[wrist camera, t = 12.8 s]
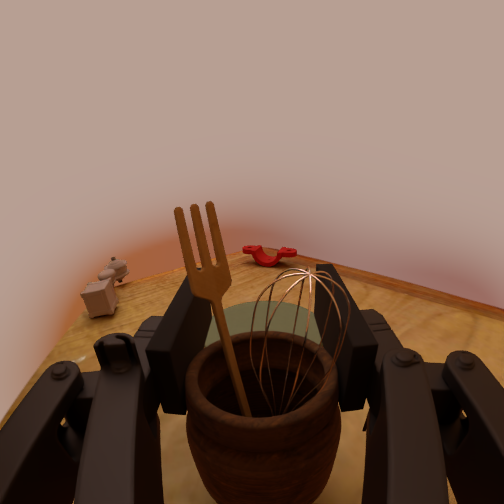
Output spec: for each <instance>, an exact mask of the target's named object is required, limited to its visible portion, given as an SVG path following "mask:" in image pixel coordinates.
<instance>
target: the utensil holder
mask: <svg viewBox="0 0 504 504" xmlns="http://www.w3.org/2000/svg"><path fill="white" fill-rule="evenodd" d="M205 206H206V212H207V217H208V221H209V227H210V232H211V236H212V241H213V246H214V251H215V255H216V260H217V263H216V266H213V265H212V261H211V257H210V253H209V249H208V245H207V241H206V236H205V232H204V228H203V224H202V219H201V215H200V211H199V207H198V205H197V204H192V205H191V207H190V211H191V216H192V221H193V226H194V231H195V236H196V241H197V246H198V250H199V255H200V260H201V264H202V268H201V270H200V271H199V270H197V268H196V264H195V260H194V256H193V252H192V247H191V243H190V239H189V235H188V231H187V226H186V222H185V218H184V213H183V209H182V208H181V207H176V208H175V210H174V215H175V220H176V225H177V230H178V235H179V239H180V244H181V249H182V253H183V258H184V262H185V267H186V271H187V276H188V280H189V284H190V288H191V292H192V294H193V295H194V296H196V297H199V298H203V299H206V300H208V301H209V302H210V303H211V306H212V310H213V314H214V318H215V322H216V325H217V329H218V333H219V337H220V340H218V341H216V342H214V343H212V344H210V345H208V346H207V347H205V348H204V349H203V350H201V351H200V352H199V353H198V354H197V355H196V356H195V357H194V358H193V360H192V361H191V363H190V364H189V366H188V368H187V371H186V375H185V403H186V408H187V411H188V413H187V419H186V432H187V438H188V443H189V446H190V450H191V453H192V456H193V459H194V462H195V464H196V467H197V469H198V472H199V474H200V477H201V479H202V481H203V483H204V485H205V487H206V489H207V491H208V492H209V494H210V495H211V496H212V498H213V499H214V500H215V501H216V502H217V503H218V504H312V503H313V502H314V501H315V500H316V499H317V498H318V496H319V495H320V494H321V492H322V491H323V489H324V488H325V486H326V484H327V482H328V479H329V477H330V474H331V471H332V468H333V464H334V461H335V457H336V453H337V449H338V445H339V440H340V433H341V415H340V409H339V406H338V401H339V393H340V390H339V377H338V370H337V367H336V364H335V362H336V360H337V358H338V356H339V354H340V351H341V348H342V345H343V342H344V339H345V335H346V331H347V327H348V324H349V318H350V304H349V300H348V297H347V295H346V293H345V292H344V290H343V289H342V288H341V286H340V285H338V284H337V283H336V282H335V281H333V280H332V278H331V276H330V275H329V274H328V273H327V272H324V271H316V272H313V273H311V270H310V267H307V268H306V270H305V271H304V270H301V269H297V268H289V269H286V270H284V271H282V272H281V273H280V274H279V275H278V276H277V277H276V279H275V280H274V281H273V282H272V283H270V284H269V285H268V286H267V287H266V288H265V289H264V290H263V291H262V292H261V294H260V295H259V297H258V299H257V301H256V304H255V307H254V312H253V318H252V325H251V332H244V333H239V334H235V335H231V336H230V334H229V331H228V327H227V323H226V319H225V315H224V311H223V307H222V303H221V300H222V296H223V295H224V293H225V292H226V291H227V290H228V288H229V287H230V286H231V282H232V279H231V275H230V271H229V267H228V262H227V258H226V254H225V250H224V246H223V242H222V238H221V233H220V229H219V225H218V220H217V216H216V212H215V208H214V204H213V203H212V202H211V201H209V202H207V203H206V205H205ZM289 270H297V271H301V272H304V273H295V274H290V275H286V276H283V277H280V278H279V276H280V275H281V274H283V273H284V272H286V271H289ZM307 270H309V273H308V272H307ZM316 273H324V274H326V275H328V276H329V278H330V279H329V278H327V277H324V276H321V275H317V274H316ZM296 275H304V276H303V277H302V278H301V279H299V280H298V281H297V282H295V283H294V284H293V285H292V286H291V287H290V288H289V289H288V290H287V291H286V292H285V294H284V295H283V296H282V298H281V299H280V301H279V302H278V304H277V305H276V307H275V309H274V311H273V313H272V315H271V317H270V319H269V322H268V325H267V321H268V313H269V307H270V300H271V295H272V290H273V287H274V284H275V282H277V281H279V280H281V279H283V278H286V277H290V276H296ZM305 275H306V276H305ZM315 276H316V277H315ZM307 277H309V279H310V292H309V307H308V317H307V325H306V331H305V337H302V336H299V335H296V334H294V332H295V326H296V321H297V315H298V310H299V305H300V299H301V294H302V289H303V284H304V279H305V278H307ZM311 277H313V278H314V279H316V280H317V281H318V282H319V283H320V284H321V285H322V286H323V287H324V288H325V289H326V290H327V292H328V293H329V295H330V296H331V302H330V307H329V312H328V316H327V320H326V324H325V328H324V332H323V335H322V338H321V341H320V344H317V343H315V342H314V341H312V340H310V339H307V333H308V326H309V319H310V310H311V296H312V278H311ZM317 277H321V278H324V279H326V280H329V281H331V284H332V294H331V292H330V291H329V289H328V288H327V287H326V286H325V285H324V284H323V282H321V281H320V280H319V279H318V278H317ZM300 281H302V285H301V290H300V296H299V301H298V307H297V312H296V317H295V323H294V329H293V334H292V333H287V332H280V331H268V329H269V325H270V323H271V320H272V318H273V316H274V313H275V312H276V310H277V308H278V306H279V305H280V303H281V301H282V300H283V299H284V297H285V296H286V295H287V293H288V292H289V291H290V290H291V289H292V288H293V287H294V286H295V285H296V284H298V283H299V282H300ZM333 283H334V284H335V285H336V286H338V287H339V288H340V289H341V291H342V292H343V294H344V296H345V298H346V300H347V304H348V319H347V324H346V328H345V332H344V336H343V339H342V343H341V346H340V349H339V352H338V354H337V351H338V347H339V343H340V338H341V318H340V313H339V310H338V306H337V304H336V301H335V299H334V297H333V295H334V284H333ZM271 285H272V287H271V291H270V296H269V302H268V309H267V316H266V324H265V331H253V324H254V317H255V311H256V307H257V304H258V301H259V299H260V297H261V296H262V295H263V293H264V292H265V291H266V290H267V289H268V288H269V287H270V286H271ZM332 301H333V302H334V305H335V307H336V310H337V314H338V319H339V338H338V343H337V347H336V351H335V354H334V358H332V357H331V355H330V354H329V353H328V352H327V351H326V350H325V349H324V348H323V347H321V346H320V345H321V343H322V340H323V337H324V334H325V330H326V327H327V323H328V319H329V315H330V310H331V306H332ZM336 354H337V356H336ZM335 358H336V359H335Z"/></svg>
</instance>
